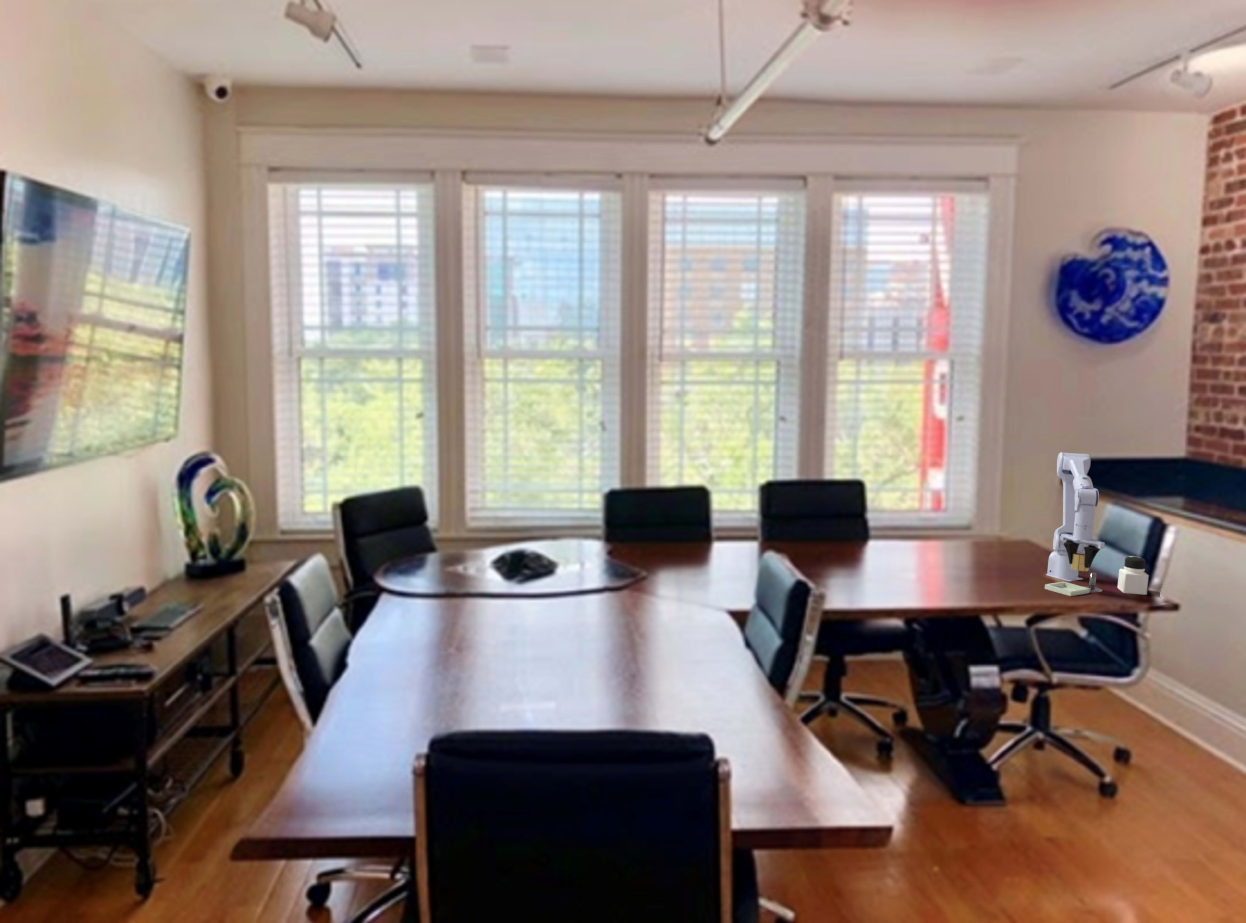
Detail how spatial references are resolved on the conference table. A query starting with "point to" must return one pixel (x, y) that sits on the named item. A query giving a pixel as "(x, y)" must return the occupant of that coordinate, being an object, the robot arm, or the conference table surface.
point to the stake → (1093, 583)
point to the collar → (1079, 562)
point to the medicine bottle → (1133, 576)
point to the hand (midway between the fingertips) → (1079, 565)
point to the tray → (1067, 588)
